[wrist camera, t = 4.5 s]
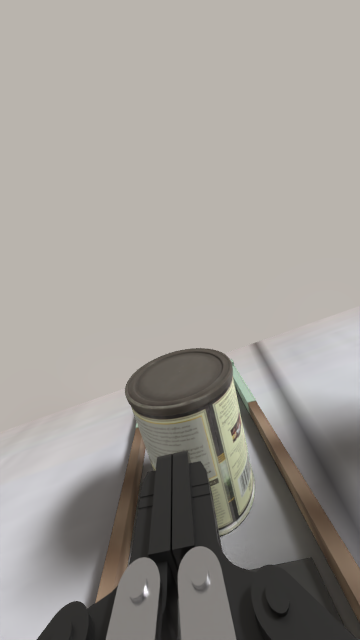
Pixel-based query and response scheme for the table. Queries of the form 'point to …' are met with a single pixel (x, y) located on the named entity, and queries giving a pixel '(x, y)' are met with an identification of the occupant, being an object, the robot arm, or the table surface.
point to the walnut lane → (350, 577)
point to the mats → (304, 584)
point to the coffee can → (197, 423)
